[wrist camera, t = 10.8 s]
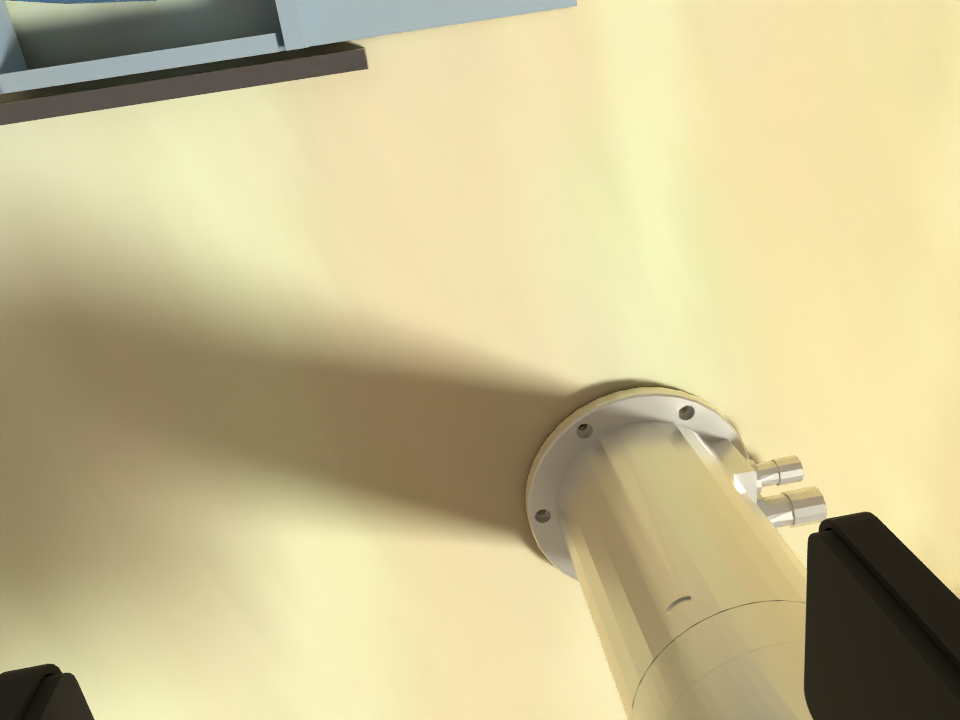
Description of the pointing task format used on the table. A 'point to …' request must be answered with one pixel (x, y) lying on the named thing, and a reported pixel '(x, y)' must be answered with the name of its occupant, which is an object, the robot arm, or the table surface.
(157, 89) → the lane rails
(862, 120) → the table surface
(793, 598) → the robot arm
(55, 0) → the water bottle
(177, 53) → the pale blue tray
